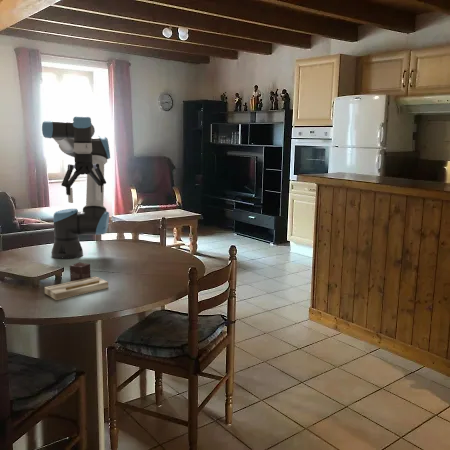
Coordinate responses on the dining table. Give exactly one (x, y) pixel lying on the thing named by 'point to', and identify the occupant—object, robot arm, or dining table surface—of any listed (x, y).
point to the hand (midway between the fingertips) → (85, 201)
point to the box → (79, 271)
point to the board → (75, 288)
